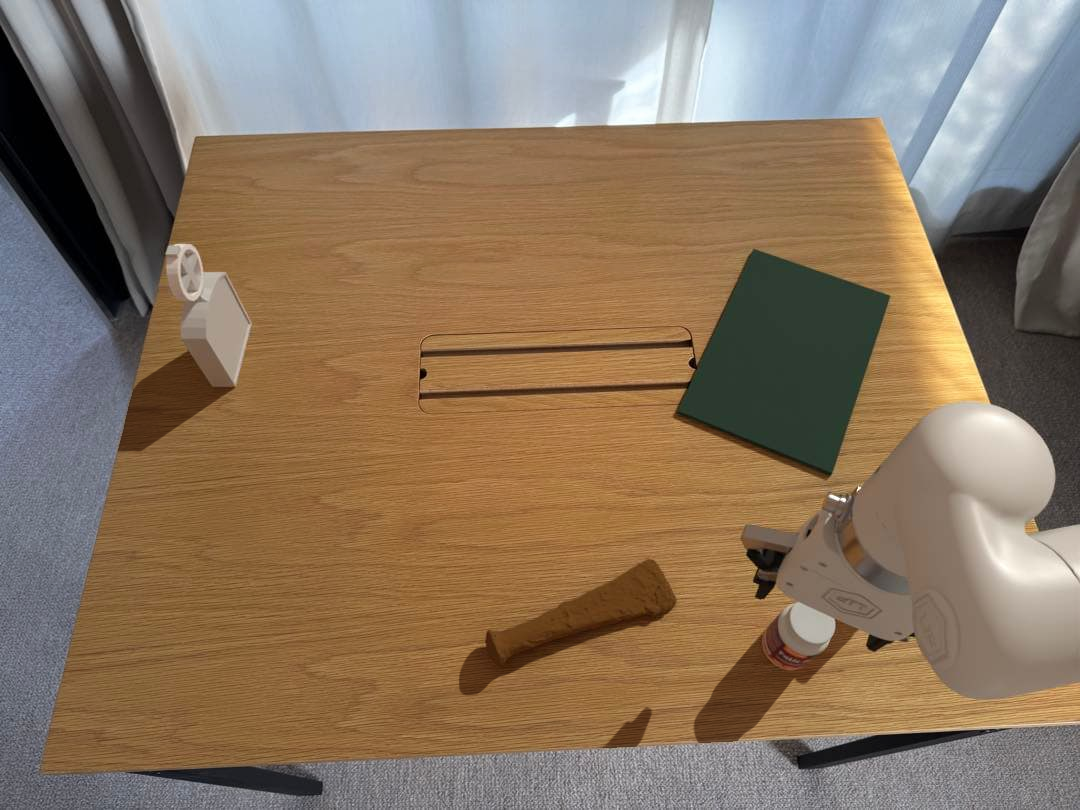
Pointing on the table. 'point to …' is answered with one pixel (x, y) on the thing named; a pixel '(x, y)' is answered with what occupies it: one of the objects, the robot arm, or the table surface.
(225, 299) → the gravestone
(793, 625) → the pill bottle
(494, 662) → the primitive tool
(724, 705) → the table surface
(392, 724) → the table surface
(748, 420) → the mat
